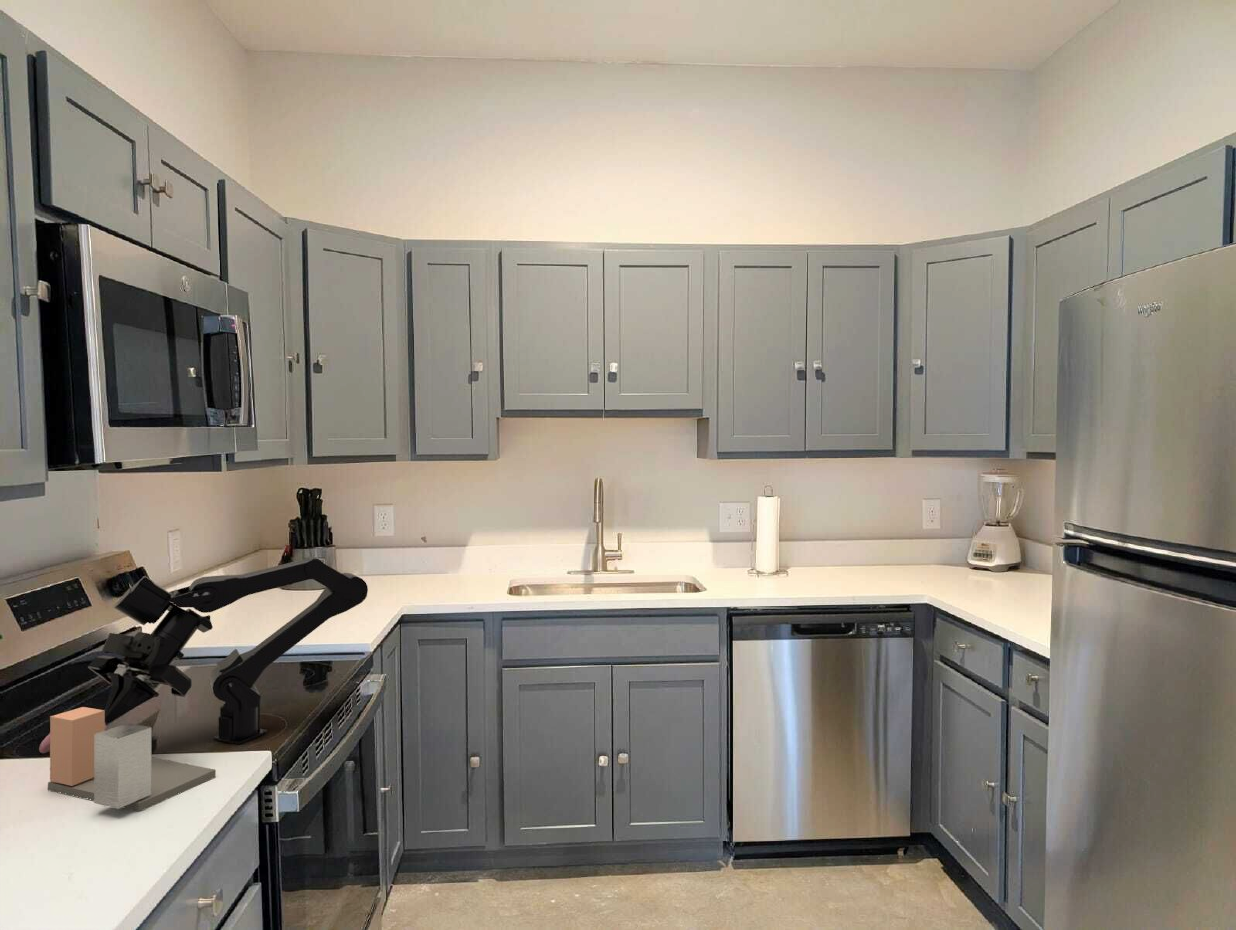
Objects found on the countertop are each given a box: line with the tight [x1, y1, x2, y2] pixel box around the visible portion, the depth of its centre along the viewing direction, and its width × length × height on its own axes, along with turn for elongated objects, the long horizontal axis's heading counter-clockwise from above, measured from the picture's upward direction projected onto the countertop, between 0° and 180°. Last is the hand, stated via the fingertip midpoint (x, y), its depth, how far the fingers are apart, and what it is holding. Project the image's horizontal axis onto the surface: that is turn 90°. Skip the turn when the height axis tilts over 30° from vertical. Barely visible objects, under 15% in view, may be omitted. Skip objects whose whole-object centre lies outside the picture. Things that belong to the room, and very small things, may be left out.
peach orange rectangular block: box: [49, 706, 106, 786], centre depth 118 cm, size 5×5×10 cm
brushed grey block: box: [93, 722, 152, 810], centre depth 110 cm, size 5×5×10 cm
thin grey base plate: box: [47, 756, 217, 812], centre depth 119 cm, size 13×20×1 cm, turn 69°
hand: (104, 721), depth 122 cm, fingers closed
